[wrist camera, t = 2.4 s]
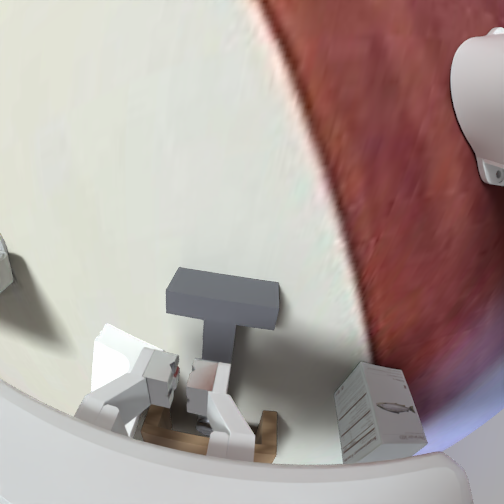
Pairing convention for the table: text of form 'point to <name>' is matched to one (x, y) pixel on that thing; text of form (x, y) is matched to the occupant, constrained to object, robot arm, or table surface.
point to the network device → (4, 266)
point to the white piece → (116, 360)
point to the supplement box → (377, 416)
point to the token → (203, 425)
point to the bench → (161, 434)
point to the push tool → (222, 306)
